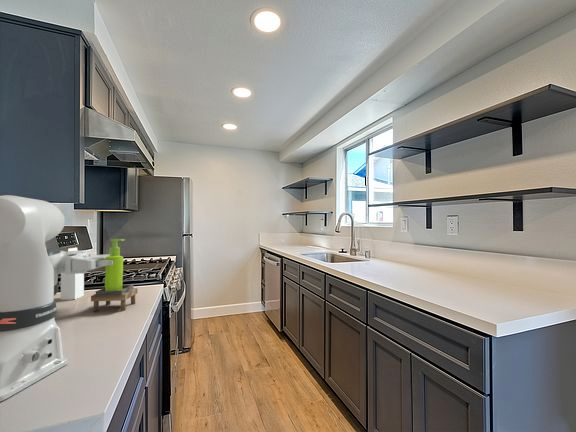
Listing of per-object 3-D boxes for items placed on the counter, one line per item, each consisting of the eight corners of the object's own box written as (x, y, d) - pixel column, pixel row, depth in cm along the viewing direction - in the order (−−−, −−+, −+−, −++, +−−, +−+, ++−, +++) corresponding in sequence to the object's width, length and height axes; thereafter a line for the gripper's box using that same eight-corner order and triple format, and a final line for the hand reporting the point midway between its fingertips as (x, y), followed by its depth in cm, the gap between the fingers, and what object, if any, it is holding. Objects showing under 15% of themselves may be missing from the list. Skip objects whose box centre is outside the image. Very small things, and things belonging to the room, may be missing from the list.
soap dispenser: (116, 292, 109) (117, 238, 110) (100, 291, 110) (102, 239, 112) (128, 289, 115) (129, 238, 116) (113, 288, 116) (114, 238, 118)
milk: (83, 296, 131) (84, 247, 131) (74, 299, 125) (75, 248, 125) (69, 296, 130) (70, 247, 131) (60, 300, 124) (61, 248, 125)
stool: (124, 311, 108) (125, 290, 108) (90, 312, 107) (90, 291, 107) (137, 302, 119) (137, 284, 119) (106, 303, 118) (106, 285, 118)
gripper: (95, 266, 123) (129, 265, 124) (62, 274, 102) (104, 273, 104) (95, 251, 123) (129, 250, 124) (62, 256, 102) (104, 256, 104)
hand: (117, 261), depth 114 cm, fingers closed on soap dispenser, 6 cm apart
